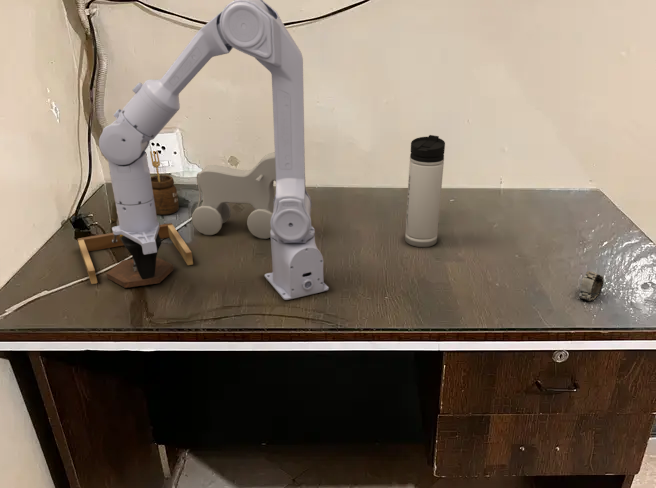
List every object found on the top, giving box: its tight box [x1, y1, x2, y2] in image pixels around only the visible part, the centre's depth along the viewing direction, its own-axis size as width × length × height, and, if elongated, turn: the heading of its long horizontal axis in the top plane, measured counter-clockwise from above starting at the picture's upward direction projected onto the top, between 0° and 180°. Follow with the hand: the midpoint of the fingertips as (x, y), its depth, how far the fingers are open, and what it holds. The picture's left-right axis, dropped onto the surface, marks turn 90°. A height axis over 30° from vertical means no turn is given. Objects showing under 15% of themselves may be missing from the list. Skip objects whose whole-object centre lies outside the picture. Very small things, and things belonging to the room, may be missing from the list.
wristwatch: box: [578, 270, 605, 302], centre depth 103 cm, size 3×5×5 cm
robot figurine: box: [106, 217, 175, 289], centre depth 104 cm, size 11×9×12 cm
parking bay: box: [76, 222, 194, 285], centre depth 112 cm, size 14×17×2 cm
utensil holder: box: [149, 150, 180, 216], centre depth 129 cm, size 6×6×12 cm
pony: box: [191, 151, 276, 240], centre depth 120 cm, size 20×10×17 cm, turn 84°
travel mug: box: [404, 134, 446, 248], centre depth 117 cm, size 6×7×20 cm
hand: (147, 276), depth 103 cm, fingers closed
